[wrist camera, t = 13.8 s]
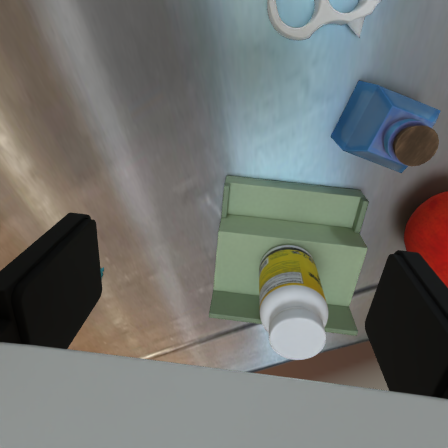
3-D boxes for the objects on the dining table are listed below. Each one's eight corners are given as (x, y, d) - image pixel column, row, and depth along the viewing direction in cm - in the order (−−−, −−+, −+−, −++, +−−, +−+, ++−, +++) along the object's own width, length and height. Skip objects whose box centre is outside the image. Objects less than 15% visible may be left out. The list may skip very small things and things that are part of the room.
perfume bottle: (358, 80, 35) (403, 91, 25) (412, 102, 36) (478, 122, 25) (330, 136, 38) (359, 168, 28) (380, 156, 39) (428, 194, 28)
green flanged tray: (226, 175, 41) (217, 212, 31) (360, 189, 41) (393, 232, 31) (218, 262, 47) (208, 317, 37) (335, 276, 46) (356, 335, 37)
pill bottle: (318, 284, 39) (340, 363, 29) (265, 292, 40) (267, 370, 30) (311, 237, 36) (331, 306, 26) (253, 247, 37) (252, 316, 27)
